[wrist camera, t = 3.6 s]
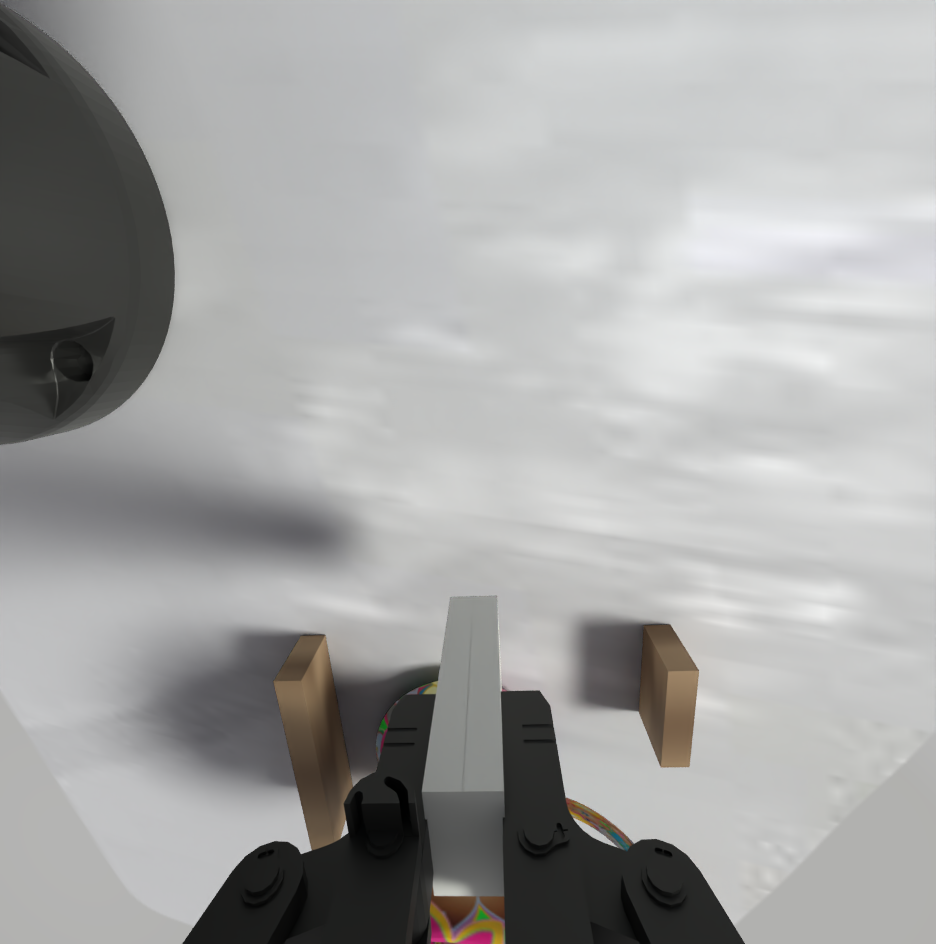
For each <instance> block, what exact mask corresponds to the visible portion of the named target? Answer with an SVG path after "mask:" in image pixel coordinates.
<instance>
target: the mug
mask: <svg viewBox="0 0 936 944" xmlns="http://www.w3.org/2000/svg"><path fill="white" fill-rule="evenodd" d="M437 684H438V681H436V682H432V683H428V684H425V685H423V686H420V687H418V688H416V689H414V690H412V691H410V692H409V693H407V694H405V695H409V694H436V691H437ZM502 691H506V690H504V689H502ZM401 698H402V697H401ZM401 698H400V699H401ZM400 699H399V700H400ZM399 700H398V701H396V702H395V703H394V704H393V706H392V707H391V708H390V709H389V710H388V712H387V713H386V715H385V716H384V718H383V720H382V722H381V724H380V726H379V729H378V732H377V737H376V756H377V761H378V762H379V758H380V755H381V751H382V747H383V745H384V744H383V743H384V739H385V735H386V732H387V727H388V724H389V720H390V716H391V712H392V710H393V708H394V707H395V706H396V704H397V703H398V702H399ZM565 798H566V797H565ZM566 803H567V806H568V809H569V812H570V814H571V816H572V817H573V818H576V819H578V820H580V821H582V822H584V823H586V824H588V825H589V826H591V827H593V828H594V829H596V830H597V831H599V832H600V833H602V834H603V835H604V836H606V837H607V838H608V839H609V840H610V841H612V842H613V843H614V844H615V845H616V846H617V847H618V848H620V849H622V850H625V851H628V849H629V847H630V846H631V845H633V844H634V843H633V842H632V841H631V840H630V839H629V838H628V837H627V836H626V835H625V834H624V833H623V832H622V831H621V830H619V829H618V828H617V827H616V826H615V825H614V824H612V823H611V822H610V821H608V820H607V819H606V818H604V817H603V816H601V815H600V814H598V813H597V812H595V811H594V810H592V809H590V808H588V807H586V806H585V805H583V804H580V803H578V802H576V801H574V800H571V799H568V798H566ZM430 917H431V931H432V935H431V944H505V913H504V896H434V890H433V885H432V894H431V904H430Z"/></svg>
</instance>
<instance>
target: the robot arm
mask: <svg viewBox="0 0 936 944" xmlns="http://www.w3.org/2000/svg"><path fill="white" fill-rule="evenodd" d="M174 287H175V270H174V254H173V247H172V239H171V234H170V229H169V223H168V219H167V215H166V211H165V208H164V204H163V201H162V198H161V195H160V192H159V189H158V186H157V183H156V181H155V178H154V176H153V173H152V170H151V168H150V166H149V164H148V162H147V159H146V157H145V155H144V153H143V151H142V149H141V147H140V145H139V144H138V142H137V140H136V138H135V136H134V134H133V133H132V131H131V129H130V128H129V126H128V124H127V123H126V121H125V120H124V118H123V116H122V115H121V114H120V112H119V111H118V109H117V108H116V106H115V105H114V103H113V102H112V101H111V99H110V98H109V97H108V96H107V94H106V93H105V92H104V90H103V89H102V88H101V87H100V85H99V84H98V83H97V82H96V81H95V80H94V79H93V77H92V76H91V75H90V74H89V73H88V72H87V71H86V70H85V69H84V68H83V67H82V66H81V65H80V64H79V63H78V62H77V61H76V60H75V59H74V58H73V57H72V56H71V55H70V54H69V53H68V52H67V51H66V50H65V49H64V48H62V47H61V46H60V45H59V44H58V43H57V42H56V41H54V40H53V39H52V38H51V37H49V36H48V35H47V34H45V33H44V32H43V31H42V30H40V29H39V28H37V27H36V26H34V25H33V24H31V23H30V22H28V21H27V20H26V19H24V18H23V17H21V16H20V15H18V14H17V13H15V12H14V11H12V10H11V9H9V8H8V7H6V6H5V5H3V4H2V3H0V445H3V444H13V443H18V442H24V441H28V440H33V439H37V438H41V437H45V436H49V435H54V434H58V433H62V432H66V431H70V430H74V429H77V428H80V427H83V426H86V425H88V424H91V423H93V422H95V421H97V420H99V419H101V418H103V417H104V416H106V415H108V414H110V413H111V412H112V411H114V410H115V409H117V408H118V407H119V406H121V405H122V404H123V403H124V402H125V401H126V400H127V399H129V398H130V397H131V396H132V394H133V393H134V392H135V391H136V390H137V389H138V388H139V387H140V385H141V384H142V383H143V382H144V380H145V379H146V377H147V376H148V374H149V373H150V371H151V370H152V368H153V366H154V364H155V362H156V360H157V358H158V356H159V354H160V352H161V349H162V347H163V344H164V341H165V338H166V335H167V332H168V328H169V324H170V320H171V314H172V308H173V300H174ZM383 744H384V745H383V747H382V751H381V755H380V758H379V762H378V766H377V770H376V772H375V773H372V774H370V775H369V776H367V777H365V778H363V779H361V780H360V781H359V782H358V783H357V784H356V785H355V786H354V787H353V788H352V789H351V790H350V792H349V793H348V795H347V797H346V799H345V801H344V803H343V805H344V810H345V816H346V821H347V826H348V832H349V833H348V834H346V835H345V836H344V837H342V838H341V839H339V840H338V841H335V842H333V843H331V844H329V845H326V846H324V847H321V848H318V849H315V850H312V851H309V852H307V853H304V854H300V852H299V850H298V848H297V847H295V846H294V845H292V844H290V843H289V842H278V841H274V842H271V843H268V844H265V845H262V846H260V847H258V848H257V849H255V850H254V851H253V852H251V853H250V854H248V855H247V856H245V857H244V859H243V860H242V861H241V862H240V863H239V864H238V865H237V866H236V868H235V869H234V870H233V871H232V873H231V874H230V875H229V877H228V878H227V880H226V881H225V883H224V884H223V886H222V887H221V888H220V890H219V891H218V893H217V894H216V896H215V897H214V899H213V900H212V902H211V903H210V904H209V906H208V907H207V909H206V910H205V912H204V913H203V915H202V916H201V918H200V919H199V920H198V922H197V923H196V925H195V926H194V928H193V929H192V931H191V932H190V933H189V935H188V936H187V938H186V939H185V941H184V942H183V944H431V935H432V931H431V917H430V904H431V894H432V885H433V890H434V896H504V913H505V944H745V943H744V942H743V940H742V938H741V937H740V935H739V934H738V932H737V930H736V928H735V927H734V925H733V924H732V922H731V920H730V919H729V917H728V915H727V914H726V912H725V911H724V909H723V907H722V906H721V904H720V903H719V901H718V899H717V898H716V896H715V894H714V893H713V891H712V890H711V888H710V886H709V885H708V883H707V881H706V880H705V878H704V877H703V875H702V873H701V872H700V870H699V869H698V868H697V867H696V865H695V864H694V863H693V862H692V860H691V859H690V858H689V857H688V856H687V855H686V854H685V853H683V852H682V851H681V850H679V849H678V848H676V847H675V846H674V845H672V844H669V843H666V842H663V841H660V840H657V839H648V840H640V841H639V842H637V843H635V844H633V845H631V846H630V847H629V849H628V851H625V850H622V849H620V848H617V847H614V846H611V845H608V844H605V843H603V842H601V841H599V840H596V839H594V838H592V837H591V836H590V835H588V834H587V833H586V832H584V831H583V830H582V829H581V828H580V827H579V825H578V824H577V823H576V822H575V821H574V819H573V817H572V816H571V814H570V812H569V809H568V806H567V803H566V798H565V792H564V786H563V780H562V774H561V768H560V762H559V756H558V750H557V744H556V738H555V732H554V728H553V720H552V714H551V708H550V705H549V704H548V702H547V701H546V699H545V698H544V696H543V695H542V694H541V692H540V691H502V686H501V661H500V642H499V622H498V603H497V596H470V597H450V603H449V610H448V616H447V623H446V630H445V637H444V644H443V650H442V657H441V664H440V671H439V678H438V684H437V691H436V694H409V695H403V696H402V698H401V699H400V700H399V702H398V703H397V704H396V706H395V707H394V708H393V710H392V712H391V716H390V720H389V724H388V727H387V732H386V735H385V739H384V743H383Z"/></svg>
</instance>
